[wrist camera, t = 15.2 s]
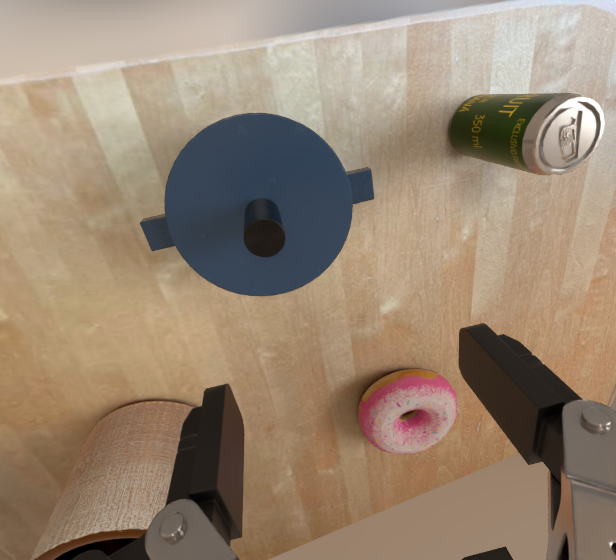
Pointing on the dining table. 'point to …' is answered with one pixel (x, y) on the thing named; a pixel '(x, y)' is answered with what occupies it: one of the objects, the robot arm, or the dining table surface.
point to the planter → (116, 481)
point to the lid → (258, 204)
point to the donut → (400, 399)
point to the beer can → (529, 130)
